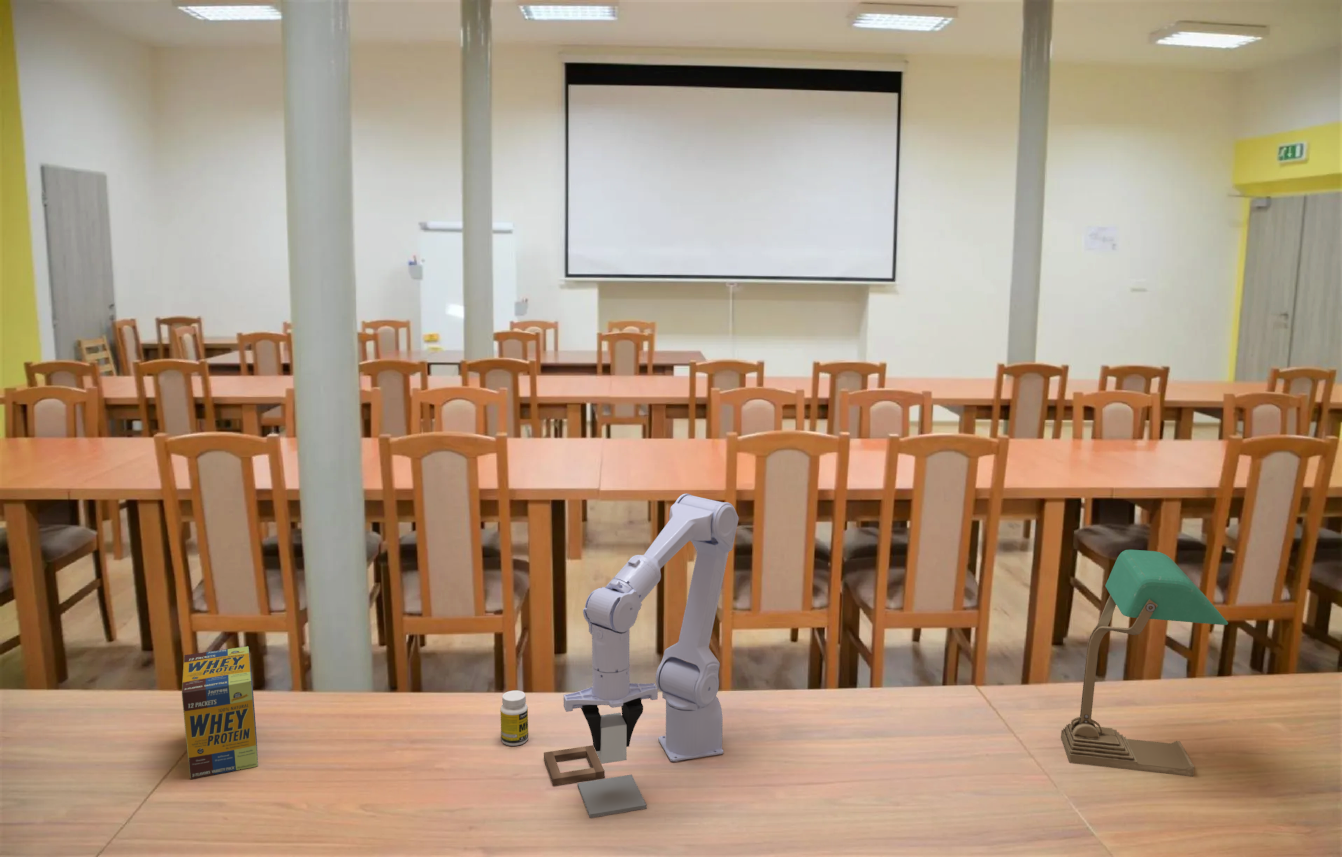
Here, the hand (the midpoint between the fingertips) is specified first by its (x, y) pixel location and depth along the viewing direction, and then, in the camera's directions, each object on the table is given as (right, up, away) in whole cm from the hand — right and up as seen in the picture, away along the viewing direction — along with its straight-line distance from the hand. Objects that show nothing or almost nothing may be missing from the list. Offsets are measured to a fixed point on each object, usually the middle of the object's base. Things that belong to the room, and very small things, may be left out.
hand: (611, 745), depth 156 cm
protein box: (-67, -6, +14) cm, 69 cm away
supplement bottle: (-18, -5, +19) cm, 27 cm away
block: (0, -2, +1) cm, 2 cm away
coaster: (0, -9, +2) cm, 9 cm away
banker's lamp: (+88, -7, +15) cm, 89 cm away
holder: (-7, -7, +10) cm, 14 cm away
